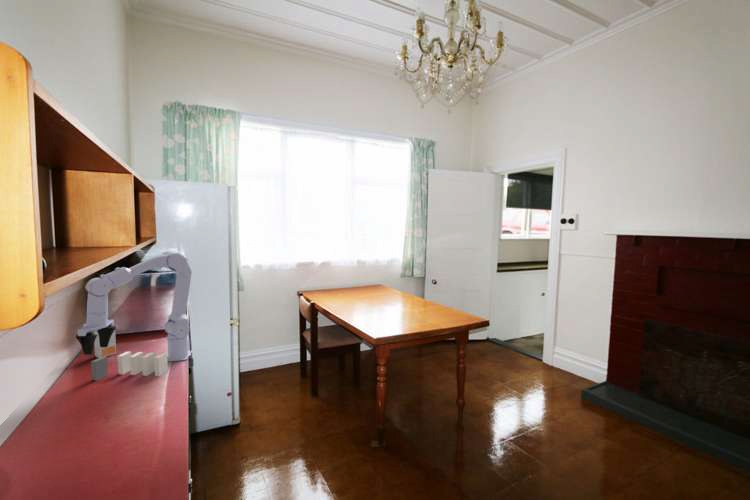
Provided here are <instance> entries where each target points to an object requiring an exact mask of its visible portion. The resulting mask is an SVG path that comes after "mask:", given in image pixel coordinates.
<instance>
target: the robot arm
mask: <svg viewBox="0 0 750 500" xmlns="http://www.w3.org/2000/svg"><path fill="white" fill-rule="evenodd" d="M155 268H167V269H169V270H170V271H172V273H173V274H175V275H176V277H175V278H176V279H175V283H174V284H175V285H174V291H173V299H172V300H173V301H172V305H171V306H172V307H171V313H170V314H169V316H168V317H167V321H166V323H165V324H164V331H165V333H167V336H166V338H167V362H178V361H180V362H181V361H186V360H187V359H188V358H189V357H190V355H191V354H192V352H193V350H190V347H191V346H190V337H189V335H188V334H189V333H190V326H189V317H188V315H187V309H188V302H189V295H190V288H191V287H190V286H191V279H192V270H191V267H190V265H189V263H188V258H186V257H185V256H184V254H181V253H179V252H172V251H165V252H162V253H159V254H156V255H154V256H152V257H150V258H148V259H146V260H143V261H142V262H140V263H137V264H135V265H133V266H131V267H129V268H128V267H125V266H122V267H116V268H114V270H113V271H111V272H108V273H106V274H104V273H102V274H100V275H99V276H100V277H94V278H90V280H88V282H86V284H85V290H86V292H87V300H86V323H84V324H83V325H82V326H83V327H82V328H80V329H78V330H77V334H76V335H75V339H77V340H78V342H79V343H80V346H81V347H82V348H81V349H82V351H83V355H85V356H86V355H88V356H89V355H90V356H91V355H93V352H94V347H95V345H94V342H95V339H96V337H97V335H94V334H93V333H94V331H97V332H98V335H99V343H100V347H108V344H109V341H110V338H111V336H112V334H113V332H114V330H115V331H116V329H117V328H116V325H115V324H114V323H115V320H114V319H109V318H108V317H109V315H108V314H109V297H108V296H109V293H110V292H111V291H112V290H113V289H116V288H118V287H121V286H123V285H125V284H127V283H130V282H132V280H133V279H134V277H135V276H136V275H139V274H143V273H144V272H147V271H149V270H152V269H155ZM114 325H115V326H114Z"/></svg>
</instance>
